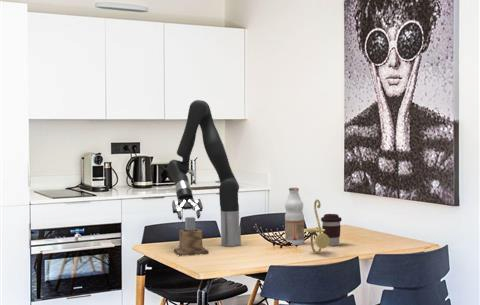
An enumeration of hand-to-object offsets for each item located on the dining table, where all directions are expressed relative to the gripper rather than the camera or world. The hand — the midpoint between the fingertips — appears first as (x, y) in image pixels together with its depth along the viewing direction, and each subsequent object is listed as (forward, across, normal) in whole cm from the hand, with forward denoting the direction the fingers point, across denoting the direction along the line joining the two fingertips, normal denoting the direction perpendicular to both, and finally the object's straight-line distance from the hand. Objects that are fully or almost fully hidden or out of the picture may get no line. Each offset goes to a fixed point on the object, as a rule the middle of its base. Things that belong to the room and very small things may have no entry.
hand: (189, 218), depth 285 cm
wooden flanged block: (+12, 0, +10) cm, 16 cm away
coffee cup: (+18, +69, +6) cm, 71 cm away
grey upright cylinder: (+8, 0, +6) cm, 10 cm away
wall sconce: (+31, +52, -7) cm, 61 cm away
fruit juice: (+10, +54, +14) cm, 56 cm away
